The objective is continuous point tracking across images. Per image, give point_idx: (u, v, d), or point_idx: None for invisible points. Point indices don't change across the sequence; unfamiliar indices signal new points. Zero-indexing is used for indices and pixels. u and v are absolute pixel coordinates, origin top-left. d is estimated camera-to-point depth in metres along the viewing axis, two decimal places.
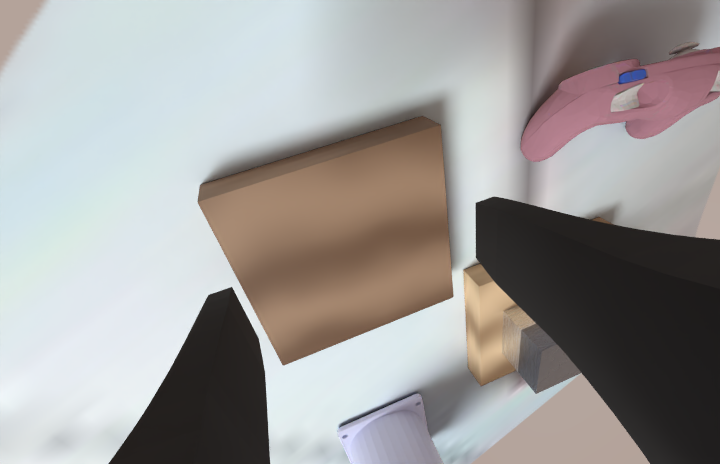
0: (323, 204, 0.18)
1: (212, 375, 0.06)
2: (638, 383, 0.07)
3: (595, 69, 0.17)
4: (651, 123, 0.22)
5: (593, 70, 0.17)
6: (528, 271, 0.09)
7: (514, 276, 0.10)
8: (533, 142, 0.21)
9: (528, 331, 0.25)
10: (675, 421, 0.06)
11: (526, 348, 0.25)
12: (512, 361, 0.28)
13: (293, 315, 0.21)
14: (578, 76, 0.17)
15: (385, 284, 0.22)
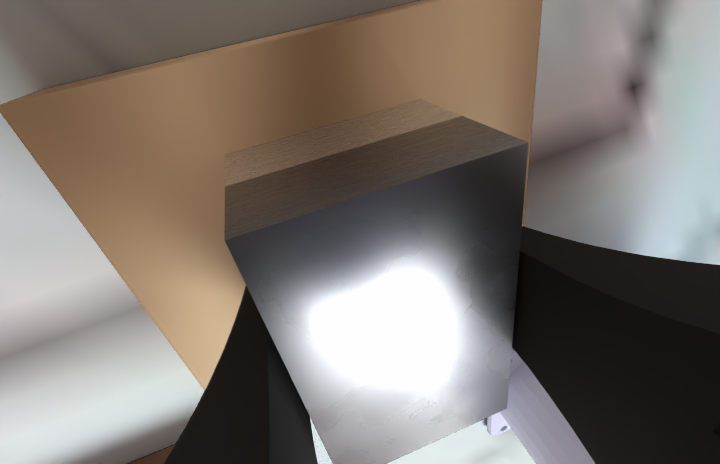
0: None
1: (269, 354, 0.06)
2: (594, 404, 0.07)
3: None
4: None
5: None
6: None
7: None
8: None
9: None
10: (628, 444, 0.06)
11: None
12: None
13: None
14: None
15: None
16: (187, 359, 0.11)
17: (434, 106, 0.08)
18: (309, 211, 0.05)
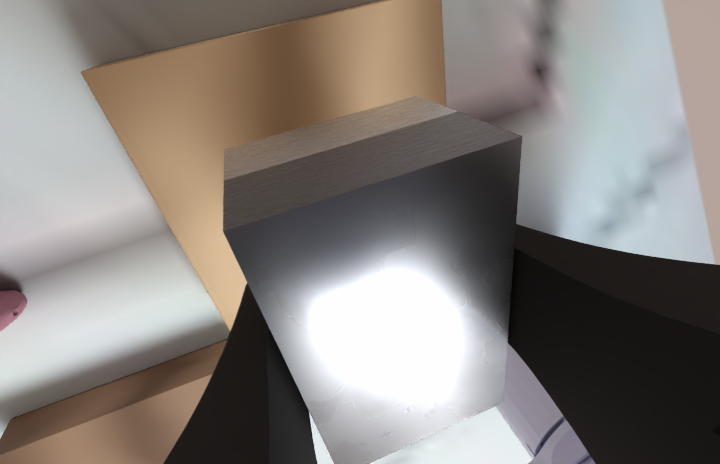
0: None
1: (268, 354, 0.06)
2: (594, 404, 0.07)
3: None
4: None
5: None
6: None
7: None
8: None
9: None
10: (629, 444, 0.06)
11: None
12: None
13: None
14: None
15: None
16: (196, 266, 0.15)
17: (430, 102, 0.08)
18: (307, 203, 0.05)
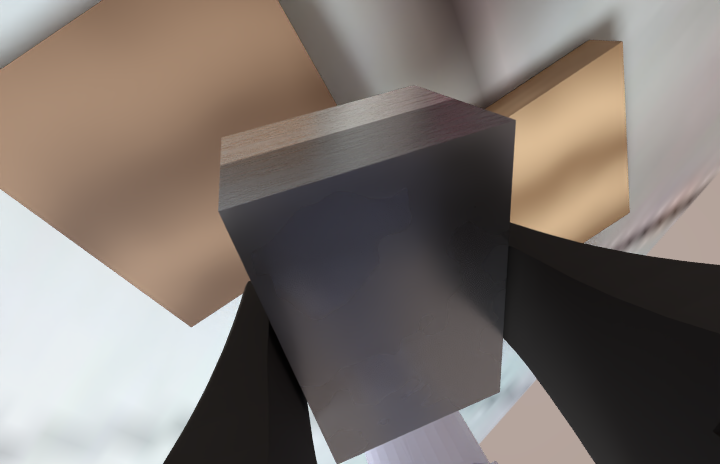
0: (110, 93, 0.12)
1: (268, 354, 0.06)
2: (594, 404, 0.07)
3: None
4: None
5: None
6: None
7: None
8: None
9: None
10: (629, 444, 0.06)
11: None
12: None
13: (165, 262, 0.16)
14: None
15: None
16: None
17: (427, 91, 0.09)
18: (302, 184, 0.05)
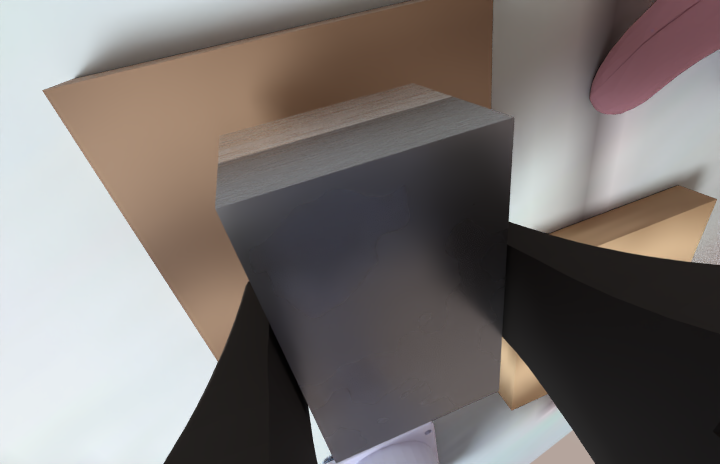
0: None
1: (268, 354, 0.06)
2: (594, 404, 0.07)
3: None
4: None
5: None
6: None
7: None
8: (616, 81, 0.14)
9: None
10: (629, 444, 0.06)
11: None
12: None
13: None
14: None
15: None
16: None
17: (425, 89, 0.09)
18: (299, 181, 0.05)
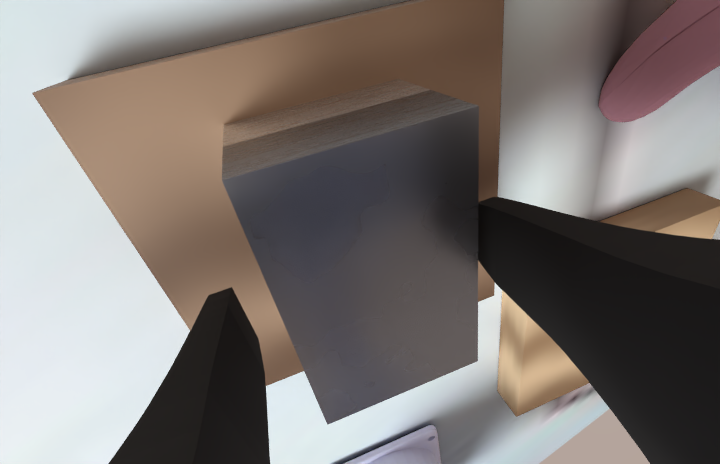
0: None
1: (212, 375, 0.06)
2: (638, 383, 0.07)
3: None
4: None
5: None
6: (528, 271, 0.09)
7: (514, 276, 0.10)
8: (626, 89, 0.14)
9: None
10: (675, 420, 0.06)
11: None
12: None
13: None
14: None
15: None
16: None
17: (408, 83, 0.09)
18: (293, 158, 0.06)
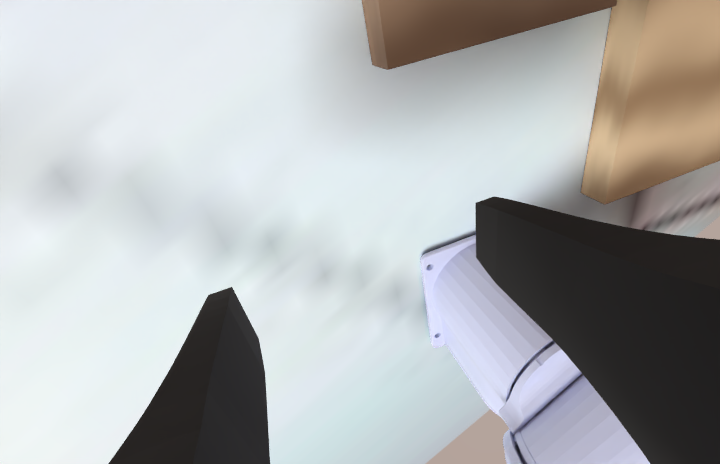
0: None
1: (212, 375, 0.06)
2: (638, 383, 0.07)
3: None
4: None
5: None
6: (528, 271, 0.09)
7: (514, 276, 0.10)
8: None
9: None
10: (676, 421, 0.06)
11: None
12: None
13: None
14: None
15: None
16: None
17: None
18: None
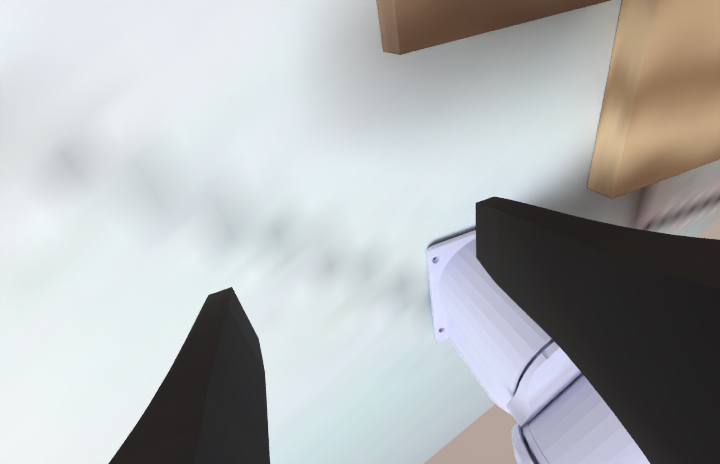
0: None
1: (212, 375, 0.06)
2: (638, 383, 0.07)
3: None
4: None
5: None
6: (528, 271, 0.09)
7: (514, 276, 0.10)
8: None
9: None
10: (675, 421, 0.06)
11: None
12: None
13: None
14: None
15: None
16: None
17: None
18: None
